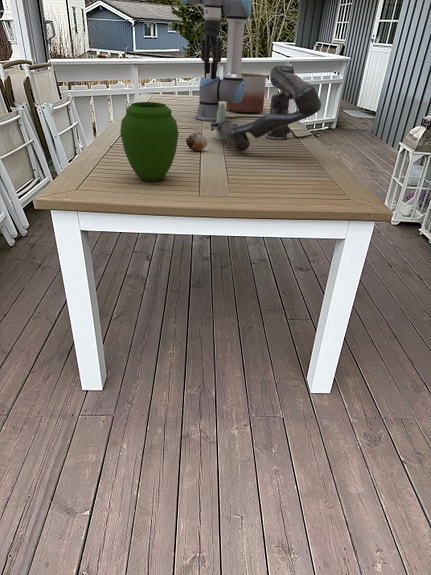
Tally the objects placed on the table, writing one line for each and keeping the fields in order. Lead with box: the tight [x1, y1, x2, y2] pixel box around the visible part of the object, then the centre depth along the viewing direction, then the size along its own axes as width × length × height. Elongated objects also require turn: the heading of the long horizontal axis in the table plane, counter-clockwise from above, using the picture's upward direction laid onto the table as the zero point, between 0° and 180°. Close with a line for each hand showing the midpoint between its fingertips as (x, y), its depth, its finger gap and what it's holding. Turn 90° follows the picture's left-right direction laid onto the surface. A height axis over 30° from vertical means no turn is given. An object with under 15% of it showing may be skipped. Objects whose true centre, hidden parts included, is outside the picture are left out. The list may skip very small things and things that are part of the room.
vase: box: [119, 101, 179, 182], centre depth 140 cm, size 20×20×24 cm
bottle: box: [215, 103, 226, 140], centre depth 202 cm, size 4×4×16 cm
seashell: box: [185, 131, 208, 152], centre depth 181 cm, size 10×6×8 cm, turn 97°
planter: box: [225, 72, 267, 114], centre depth 275 cm, size 25×25×22 cm
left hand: (210, 78), depth 194 cm, fingers closed on cap, 4 cm apart
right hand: (219, 123), depth 205 cm, fingers closed on bottle, 4 cm apart
